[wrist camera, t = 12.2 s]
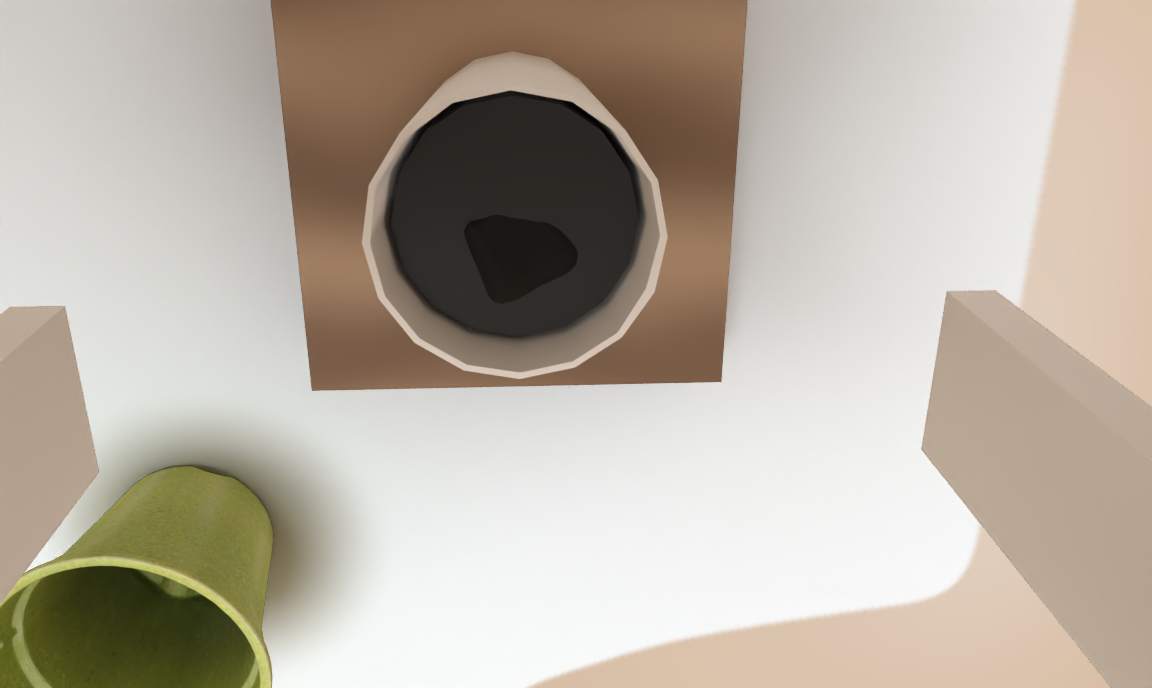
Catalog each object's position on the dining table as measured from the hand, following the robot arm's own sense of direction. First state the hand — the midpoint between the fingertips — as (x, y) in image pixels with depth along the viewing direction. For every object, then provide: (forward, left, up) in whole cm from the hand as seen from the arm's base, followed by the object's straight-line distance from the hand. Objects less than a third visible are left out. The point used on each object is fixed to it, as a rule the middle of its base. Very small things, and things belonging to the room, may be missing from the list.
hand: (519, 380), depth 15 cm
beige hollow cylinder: (0, 0, -17) cm, 17 cm away
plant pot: (+16, -13, -21) cm, 30 cm away
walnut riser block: (0, 0, -21) cm, 21 cm away
